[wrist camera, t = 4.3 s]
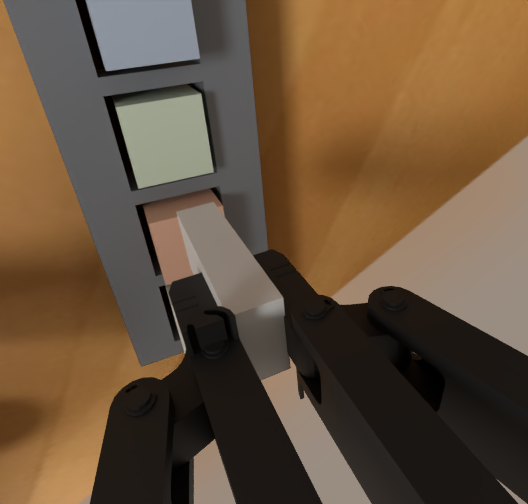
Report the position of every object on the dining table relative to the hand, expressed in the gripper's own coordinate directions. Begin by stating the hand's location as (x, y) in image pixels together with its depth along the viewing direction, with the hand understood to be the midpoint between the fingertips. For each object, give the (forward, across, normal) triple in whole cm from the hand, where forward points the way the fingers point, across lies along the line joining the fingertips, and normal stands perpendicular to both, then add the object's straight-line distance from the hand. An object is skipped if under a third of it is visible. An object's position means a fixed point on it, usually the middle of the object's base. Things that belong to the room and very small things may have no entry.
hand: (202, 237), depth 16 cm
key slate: (+9, 0, +8) cm, 12 cm away
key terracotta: (+9, 0, -3) cm, 9 cm away
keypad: (+10, 0, -1) cm, 10 cm away
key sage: (+10, 0, +2) cm, 10 cm away
